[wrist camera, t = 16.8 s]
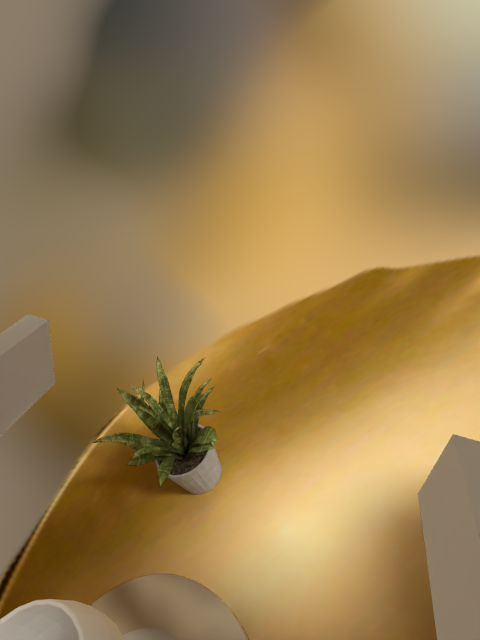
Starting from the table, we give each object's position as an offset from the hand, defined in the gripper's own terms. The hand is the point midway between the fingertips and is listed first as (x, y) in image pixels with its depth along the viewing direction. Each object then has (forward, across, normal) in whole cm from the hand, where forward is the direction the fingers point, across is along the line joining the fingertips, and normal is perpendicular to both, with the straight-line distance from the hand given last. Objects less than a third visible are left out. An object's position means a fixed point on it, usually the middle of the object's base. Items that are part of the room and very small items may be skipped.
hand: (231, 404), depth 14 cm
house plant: (+25, -4, -35) cm, 43 cm away
